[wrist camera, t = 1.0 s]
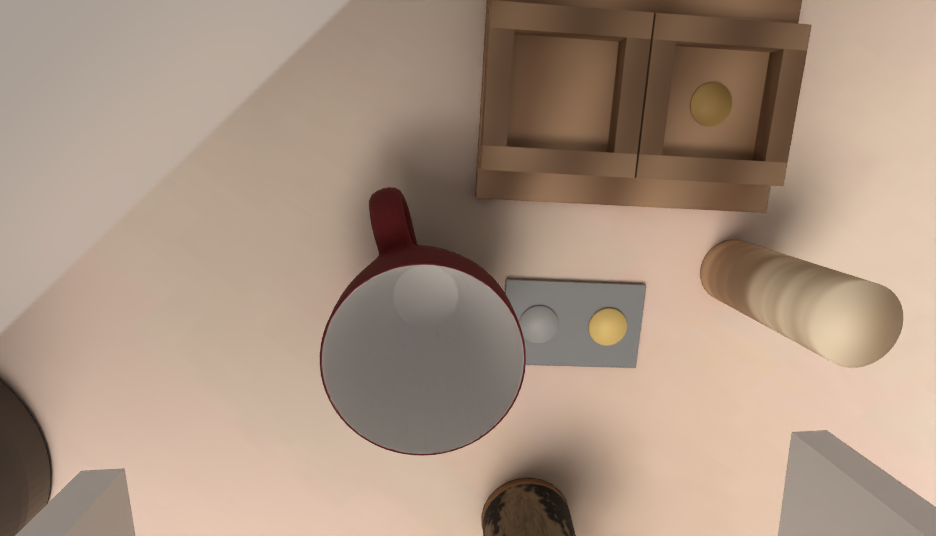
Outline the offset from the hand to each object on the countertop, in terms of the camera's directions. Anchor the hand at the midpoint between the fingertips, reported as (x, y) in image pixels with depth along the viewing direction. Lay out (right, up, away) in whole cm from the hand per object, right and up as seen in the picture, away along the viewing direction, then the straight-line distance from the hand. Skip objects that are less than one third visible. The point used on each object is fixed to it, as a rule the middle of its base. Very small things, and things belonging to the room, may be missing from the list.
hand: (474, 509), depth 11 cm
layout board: (+8, +14, +19) cm, 25 cm away
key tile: (+6, +2, +21) cm, 22 cm away
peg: (+15, +5, +21) cm, 26 cm away
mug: (-3, +4, +20) cm, 21 cm away
